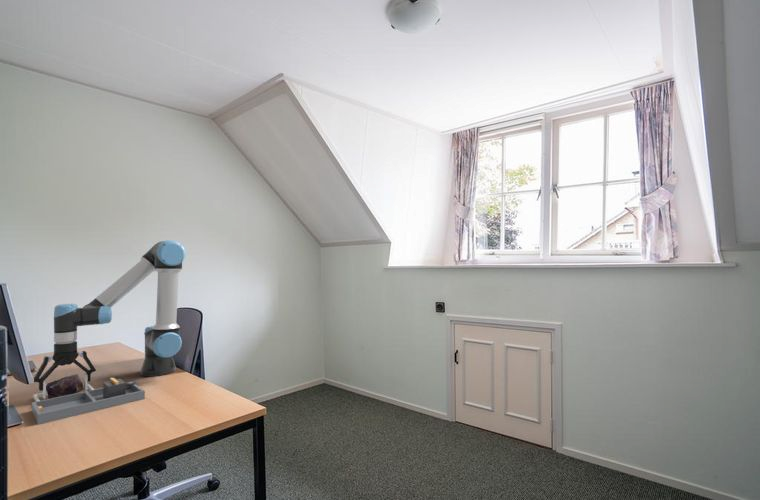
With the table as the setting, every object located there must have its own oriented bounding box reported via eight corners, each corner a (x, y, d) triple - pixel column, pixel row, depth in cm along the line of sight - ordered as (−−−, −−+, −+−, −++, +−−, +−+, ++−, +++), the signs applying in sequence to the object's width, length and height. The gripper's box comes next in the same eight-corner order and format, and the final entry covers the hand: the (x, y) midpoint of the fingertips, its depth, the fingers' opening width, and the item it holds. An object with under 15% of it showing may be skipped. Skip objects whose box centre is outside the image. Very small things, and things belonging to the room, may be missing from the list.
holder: (132, 389, 174) (132, 371, 175) (144, 398, 163) (144, 379, 163) (31, 411, 151) (31, 390, 151) (37, 424, 139) (37, 401, 139)
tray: (88, 387, 178) (88, 383, 178) (97, 396, 166) (97, 392, 166) (33, 398, 165) (33, 394, 165) (39, 408, 153) (39, 404, 153)
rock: (49, 400, 166) (48, 406, 158) (45, 379, 166) (43, 385, 157) (84, 389, 173) (84, 395, 165) (80, 370, 172) (80, 375, 164)
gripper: (99, 336, 177) (99, 384, 177) (24, 345, 159) (24, 399, 159) (103, 338, 172) (103, 388, 172) (26, 348, 154) (26, 404, 154)
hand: (65, 393), depth 165 cm, fingers open, 13 cm apart
